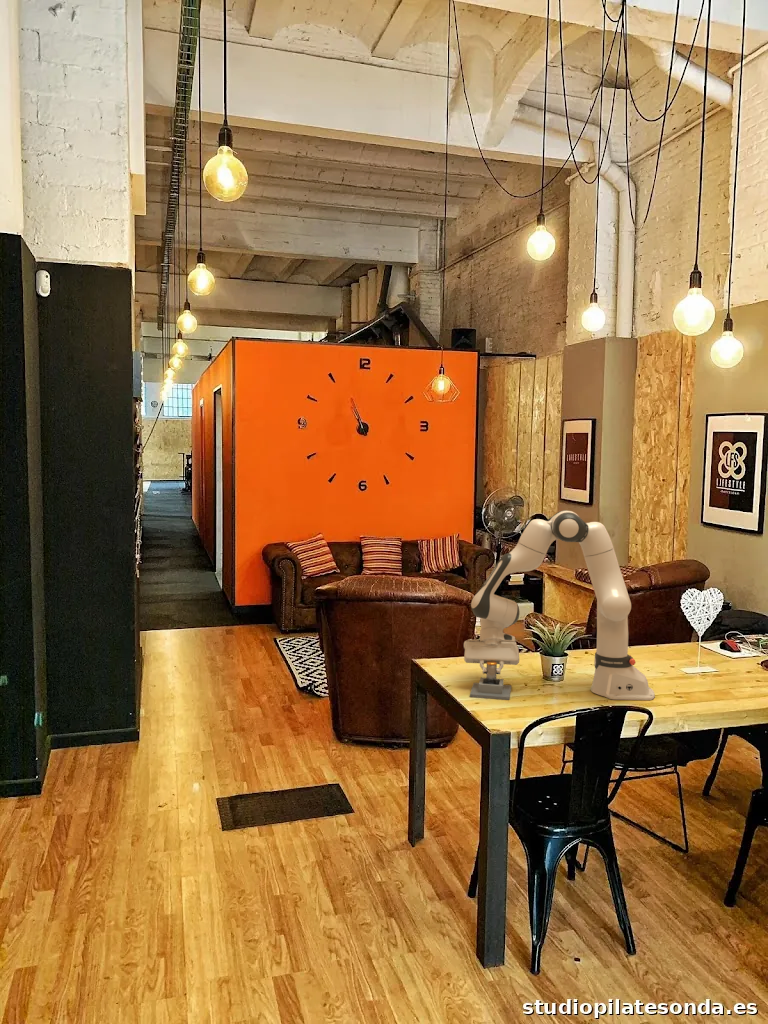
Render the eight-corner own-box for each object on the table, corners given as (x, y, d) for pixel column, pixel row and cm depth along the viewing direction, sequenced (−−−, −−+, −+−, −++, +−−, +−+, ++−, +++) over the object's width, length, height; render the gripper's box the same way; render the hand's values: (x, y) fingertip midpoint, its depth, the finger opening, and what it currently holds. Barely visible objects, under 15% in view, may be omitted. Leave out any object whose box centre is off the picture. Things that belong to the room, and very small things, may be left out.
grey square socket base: (511, 687, 289) (511, 677, 288) (509, 700, 275) (509, 689, 275) (473, 685, 292) (473, 674, 291) (469, 697, 278) (470, 686, 278)
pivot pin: (496, 685, 285) (497, 661, 284) (495, 688, 281) (496, 664, 280) (486, 684, 285) (487, 660, 284) (485, 687, 282) (486, 663, 281)
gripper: (463, 634, 290) (462, 667, 281) (519, 636, 287) (520, 670, 278) (463, 643, 294) (462, 676, 286) (518, 645, 292) (519, 678, 283)
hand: (491, 673), depth 282 cm, fingers closed on pivot pin, 4 cm apart
